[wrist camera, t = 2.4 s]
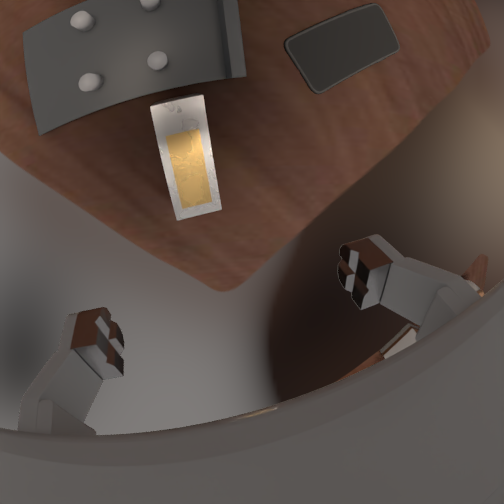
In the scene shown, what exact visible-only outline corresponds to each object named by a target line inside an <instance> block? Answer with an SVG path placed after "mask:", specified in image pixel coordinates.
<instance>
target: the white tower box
mask: <svg viewBox="0 0 504 504" xmlns="http://www.w3.org/2000/svg"><path fill="white" fill-rule="evenodd" d="M418 330H419V327H417V326H414V325H412V324H409V323H408V324H407V325H406V326H405V327H404V328H403V329H402V330H401V331H400V332H399V333H398V334H397V335H396V336H395V337H394V338H393V339H392V340H391V341H390V342H388V343H387V344H386V345H385V346H384V347H383V348H382V349H381V350H380V351H381V353H382V354H383V356H384V358H385V359H386V358H388V357H390V356H392V355H394V354H396V353H397V352H399V351H401V350H403V349H405V348H406V347H408V346H410V345H412V344H413V343H415V342H417V341H416V339H415V337H416V334H417V332H418Z"/></svg>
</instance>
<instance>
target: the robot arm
mask: <svg viewBox="0 0 504 504" xmlns="http://www.w3.org/2000/svg"><path fill="white" fill-rule="evenodd" d="M339 255H340V256H341V258H342V260H341V261H340V263H339V264H338V276H339V280H340V282H341V284H342V286H343V287H344V288H345V289H346V290H348V291H351V292H352V295H351V298H352V299H353V300H354V302H355V303H356V304H357V305H358V307H359V308H360V310H362V309H365V308H367V307H370V306H373V305H375V304H378V303H380V304H381V305H383V306H385V307H387V308H389V309H390V310H392V311H394V312H396V313H398V314H399V315H401V316H403V317H405V318H407V319H408V320H410V321H412V322H414V323H416V324H417V325H419V326H420V328H419V330H418V332H417V334H416V337H415V339H416V341H417V342H415V343H413V344H412V345H410V346H408V347H406V348H405V349H403V350H401V351H399V352H397V353H396V354H394V355H392V356H390V357H388V358H386V359H384V360H382V361H380V362H378V363H376V364H374V365H372V366H370V367H368V368H366V369H364V370H362V371H360V372H358V373H356V374H353V375H351V376H349V377H347V378H345V379H342V380H340V381H338V382H335V383H333V384H330V385H328V386H326V387H323V388H321V389H318V390H315V391H313V392H310V393H307V394H305V395H302V396H299V397H296V398H294V399H291V400H288V401H285V402H282V403H279V404H276V405H272V406H269V407H266V408H263V409H259V410H256V411H252V412H248V413H245V414H241V415H237V416H233V417H229V418H225V419H221V420H216V421H212V422H207V423H202V424H197V425H191V426H186V427H180V428H174V429H167V430H159V431H151V432H142V433H131V434H116V435H96V431H95V430H94V429H92V428H91V427H89V426H87V425H86V424H84V421H85V418H86V416H87V414H88V412H89V410H90V408H91V405H92V403H93V401H94V399H95V397H96V395H97V393H98V391H99V389H100V387H101V385H102V383H103V380H105V379H111V378H117V377H122V376H124V360H123V358H122V357H121V356H120V355H121V353H122V351H123V350H124V339H123V334H122V332H121V329H120V327H119V326H118V324H117V323H115V322H113V321H111V314H110V312H109V311H108V309H107V308H105V307H101V308H96V309H92V310H86V311H82V312H78V313H74V314H69V315H68V316H67V317H66V320H65V323H64V328H63V331H62V336H61V340H60V344H59V349H58V352H54V354H53V355H52V356H51V358H50V359H49V360H48V362H47V363H46V364H45V366H44V367H43V368H42V370H41V371H40V373H39V374H38V375H37V377H36V378H35V380H34V381H33V382H32V384H31V385H30V387H29V388H28V390H27V391H26V393H25V394H24V396H23V397H22V399H21V407H20V413H19V421H18V431H17V430H10V429H4V428H0V504H504V279H503V280H502V281H501V282H500V283H498V284H497V285H496V286H495V287H494V288H492V289H491V290H490V291H489V292H488V293H486V294H485V295H484V296H483V297H481V296H480V295H479V294H478V293H477V292H476V291H475V290H474V289H473V288H472V287H471V286H470V285H469V284H468V283H467V282H466V281H465V280H464V279H463V278H462V277H461V276H459V275H456V274H453V273H451V272H448V271H445V270H443V269H440V268H437V267H434V266H432V265H429V264H426V263H423V262H420V261H418V260H415V259H412V258H409V257H407V258H404V257H403V256H402V255H401V254H400V253H399V252H398V251H397V250H396V249H394V248H393V247H392V246H391V245H390V244H389V243H388V242H387V241H386V240H384V239H383V238H382V237H381V236H380V235H377V234H375V235H372V236H369V237H366V238H364V239H361V240H357V241H353V242H350V243H347V244H344V245H341V248H340V252H339Z"/></svg>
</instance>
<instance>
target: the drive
mask: <svg viewBox="0 0 504 504" xmlns="http://www.w3.org/2000/svg"><path fill="white" fill-rule="evenodd" d="M150 109H151V114H152V119H153V123H154V128H155V133H156V138H157V142H158V147H159V151H160V155H161V160H162V164H163V168H164V172H165V176H166V180H167V184H168V188H169V192H170V196H171V200H172V204H173V207H174V211H175V215H176V218H177V220H181V219H185V218H189V217H193V216H197V215H201V214H205V213H210V212H214V211H218V210H222V207H221V201H220V196H219V190H218V184H217V178H216V172H215V166H214V160H213V154H212V148H211V142H210V136H209V129H208V123H207V117H206V110H205V103H204V97H203V95H202V94H199V93H194V94H189V95H184V96H179V97H174V98H170V99H166V100H162V101H158V102H155V103H154V104H153V105H151V106H150Z"/></svg>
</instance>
